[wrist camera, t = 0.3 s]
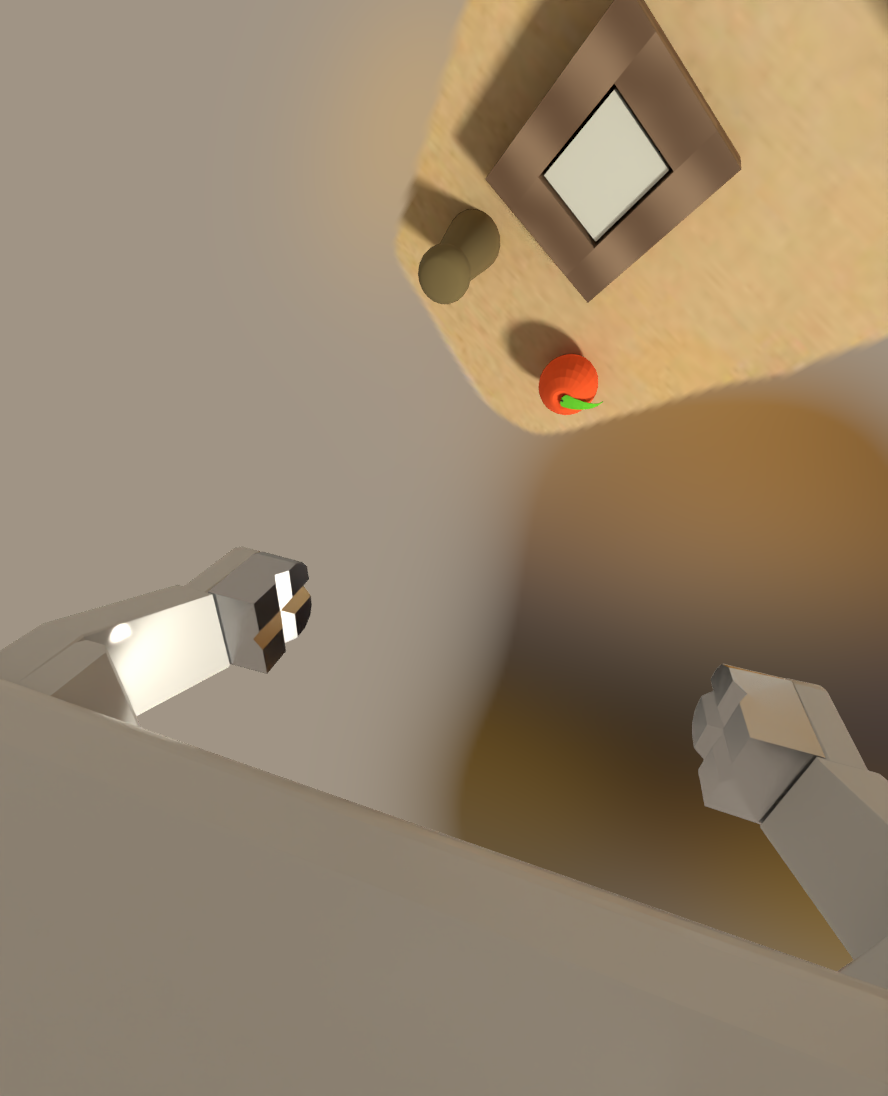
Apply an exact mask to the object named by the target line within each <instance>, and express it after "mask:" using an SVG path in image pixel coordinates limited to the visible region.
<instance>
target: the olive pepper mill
mask: <svg viewBox="0 0 888 1096" xmlns="http://www.w3.org/2000/svg"><path fill="white" fill-rule="evenodd" d="M499 248H500V235H499V232H498V229H497V226H496V224H495V223H494V221H493V220H492V218H491V217H489V216H488V215H487V214H486V213H484V212H482V211H479V210H476V209H471V210H465V211H463V212H461V213H459V214H458V215H457V216H456V217H455V219H454V220H453V221H452V223H451V225H450V227H449V228H448V230H447V232H446V234H445V235H444V237H443V239H442V241H441V243H440V244H438V245H435V246H433V247H431V248H430V249H429V250H428V251H427V252H426V253H425V254H424V255H423V257H422V260H421V262H420V265H419V271H418V276H419V282H420V285H421V287H422V289H423V291H424V293H425V294H426V295H427V296H428V297H429V298H430V299H431V300H433V301H434V302H437V303H440V304H450V303H453V302H456V301H458V300H459V299H460V298H461V297H462V296H463V295H464V294H465V292H466V290H467V289H468V287H469V283H470V281H471V280H472V279H473V278H475V277H476V276H478V275H479V274H480V273H482V272H483V271H484V270H486V269H487V268H488V267H489V266H491V265H492V264H493V263H494V261H495V259H496V258H497V256H498V253H499Z"/></svg>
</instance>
